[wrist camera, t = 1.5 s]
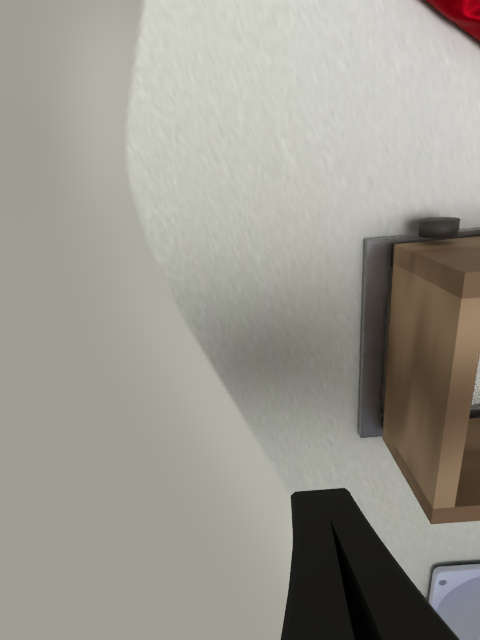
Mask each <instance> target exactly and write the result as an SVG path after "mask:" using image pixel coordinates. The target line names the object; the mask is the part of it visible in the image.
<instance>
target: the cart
mask: <svg viewBox="0 0 480 640" xmlns="http://www.w3.org/2000/svg"><path fill="white" fill-rule="evenodd" d="M459 223H460V219H459V218H450V217H440V218H427V219H421V220H420V222H419V234H418V236H419V237H423V238H450V237H455V236H458V231H459ZM479 354H480V236H477V237H466V238H455V239H445V240H434V241H423V242H413V243H402V244H394V261H393V277H392V293H391V309H390V325H389V342H388V358H387V374H386V390H385V406H384V422H383V440H384V442H385V444H386V445H387V447H388V449H389V451H390V452H391V454H392V456H393V458H394V459H395V461H396V463H397V465H398V467H399V468H400V470H401V472H402V474H403V475H404V477H405V479H406V481H407V482H408V484H409V486H410V488H411V490H412V491H413V493H414V495H415V497H416V498H417V500H418V502H419V504H420V505H421V507H422V509H423V511H424V513H425V514H426V516H427V518H428V520H429V521H430V523H431V524H439V523H453V522H466V521H480V418H471V419H469V415H470V409H471V403H472V397H473V391H474V385H475V379H476V373H477V366H478V360H479Z"/></svg>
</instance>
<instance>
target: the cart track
mask: <svg viewBox="0 0 480 640" xmlns="http://www.w3.org/2000/svg"><path fill="white" fill-rule="evenodd" d="M477 236H480V228H473V229H462V230H459V231H458V236H455V237H450V238H423V237H419V236H418V234H409V235H399V236H388V237H377V238H367V239H364V264H363V296H362V327H361V359H360V390H359V422H358V434H359V436H360V438H365V437H378V436H383V422H384V412H382V413H381V402H382V384H383V367H384V350H385V332H386V315H387V298H388V281H389V266H391V265H393V261H394V244H402V243H413V242H423V241H434V240H445V239H455V238H466V237H477ZM471 418H480V405H471V409H470V415H469V419H471Z"/></svg>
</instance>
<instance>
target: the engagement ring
mask: <svg viewBox="0 0 480 640" xmlns="http://www.w3.org/2000/svg"><path fill="white" fill-rule="evenodd" d="M426 1H427V2H428V3H430V4H431V5H432V6H433V7H434V8H435V9H437V10H438V11H439V12H440V13H441V14H443V15H444V16H445V17H446V18H448V19H449V20H451V21H453V22H454V23H456V24H457V25H458V26H459V27H461V28H462V29H463V30H465V31H466V32H467V33H469V34H470V35H472V36H473V37H474V38H476V39H477V40H478V41H479V42H480V0H426Z"/></svg>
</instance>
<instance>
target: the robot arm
mask: <svg viewBox="0 0 480 640" xmlns="http://www.w3.org/2000/svg"><path fill="white" fill-rule="evenodd" d="M291 508H292V526H293V550H292V561H291V572H290V582H289V590H288V597H287V603H286V610H285V617H284V623H283V629H282V635H281V640H480V564H468V565H454V566H441V567H437V568H436V569H434V571H433V575H432V582H431V589H430V595H429V602H428V601H427V600H426V599H425V597H424V596H423V595H422V594H421V592H420V591H419V590H418V589H417V587H416V586H415V585H414V584H413V582H412V581H411V580H410V578H409V577H408V576H407V574H406V573H405V572H404V570H403V569H402V568H401V566H400V565H399V564H398V563H397V561H396V560H395V559H394V557H393V556H392V555H391V553H390V552H389V551H388V549H387V548H386V546H385V545H384V544H383V542H382V541H381V539H380V538H379V537H378V535H377V534H376V532H375V531H374V529H373V528H372V527H371V525H370V524H369V522H368V521H367V519H366V518H365V516H364V515H363V513H362V512H361V510H360V509H359V507H358V505H357V504H356V502H355V501H354V499H353V497H352V496H351V494H350V492H349V491H348V490H347V489H345V488H339V489H326V490H313V491H300V492H295V493H293V494H292V495H291Z"/></svg>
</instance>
